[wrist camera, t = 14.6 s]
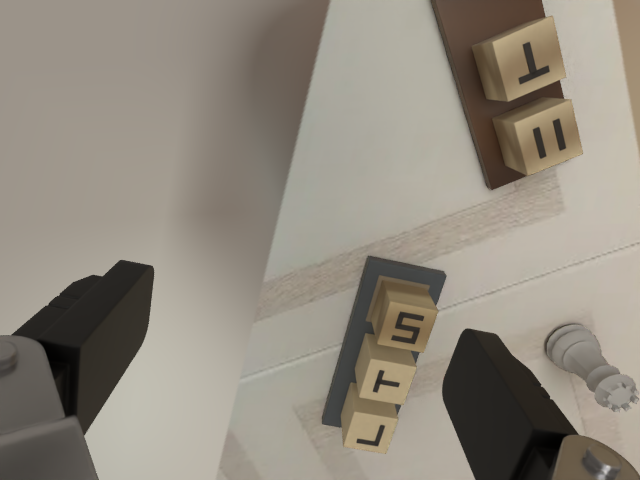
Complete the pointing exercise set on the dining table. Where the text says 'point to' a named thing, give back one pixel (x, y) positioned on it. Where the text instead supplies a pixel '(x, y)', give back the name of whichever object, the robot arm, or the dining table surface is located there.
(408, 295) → the letter S
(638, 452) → the dining table surface
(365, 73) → the dining table surface
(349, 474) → the dining table surface
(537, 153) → the near word rack
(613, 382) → the rook chess piece
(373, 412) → the far word rack
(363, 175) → the dining table surface
